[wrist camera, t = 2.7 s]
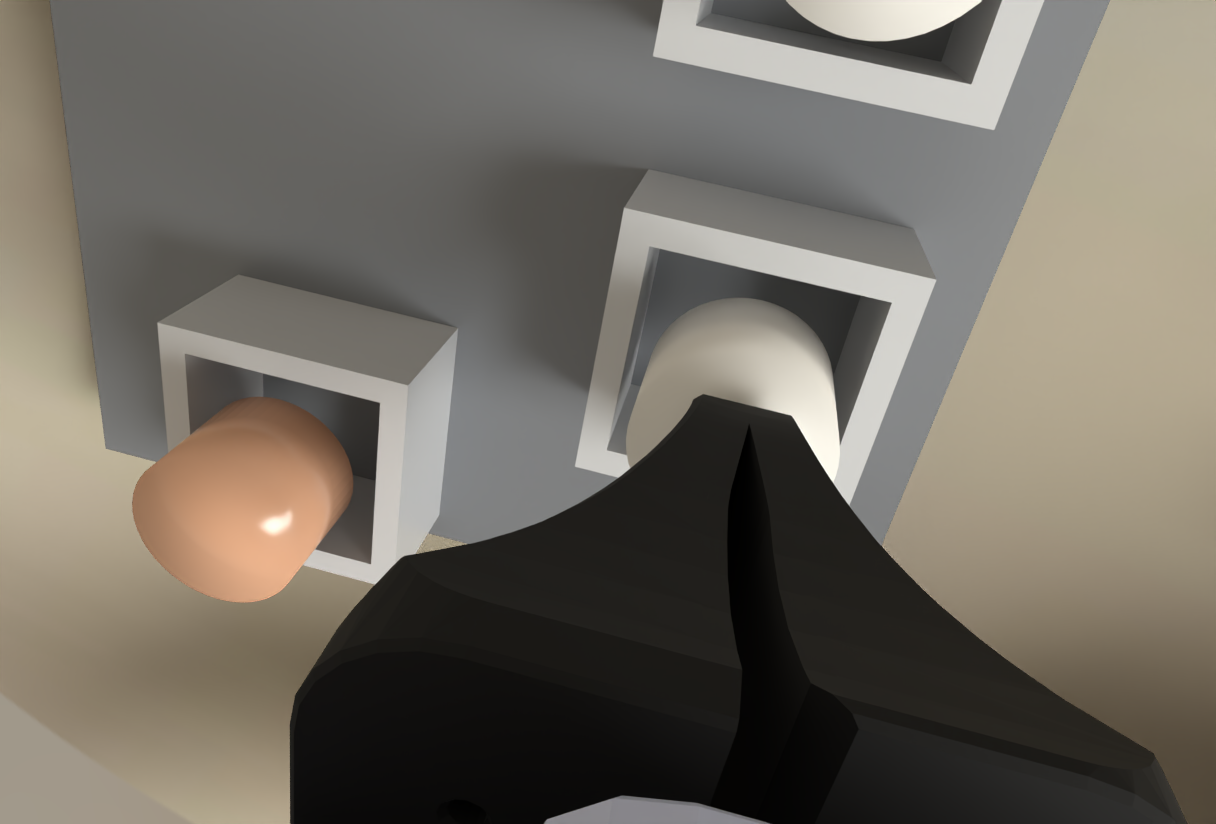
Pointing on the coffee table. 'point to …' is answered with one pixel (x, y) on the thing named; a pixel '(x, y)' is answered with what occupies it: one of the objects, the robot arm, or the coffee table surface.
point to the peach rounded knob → (244, 499)
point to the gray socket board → (533, 224)
